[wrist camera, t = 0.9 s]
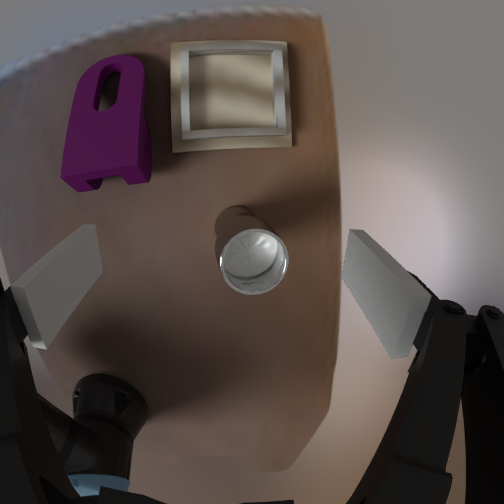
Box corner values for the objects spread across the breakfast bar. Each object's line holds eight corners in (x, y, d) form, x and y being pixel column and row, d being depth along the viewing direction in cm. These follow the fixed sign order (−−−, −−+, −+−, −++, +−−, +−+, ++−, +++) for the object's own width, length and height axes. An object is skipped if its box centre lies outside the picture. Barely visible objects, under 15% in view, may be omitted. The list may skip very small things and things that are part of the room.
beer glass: (267, 239, 43) (300, 279, 29) (223, 258, 43) (234, 307, 29) (250, 195, 41) (277, 214, 27) (203, 214, 41) (205, 245, 27)
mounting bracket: (99, 95, 38) (86, 200, 35) (83, 62, 30) (60, 177, 27) (155, 86, 39) (151, 191, 37) (147, 49, 31) (137, 164, 28)
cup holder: (290, 147, 40) (297, 146, 36) (173, 153, 37) (170, 152, 34) (284, 44, 35) (291, 35, 32) (171, 45, 33) (169, 36, 29)
